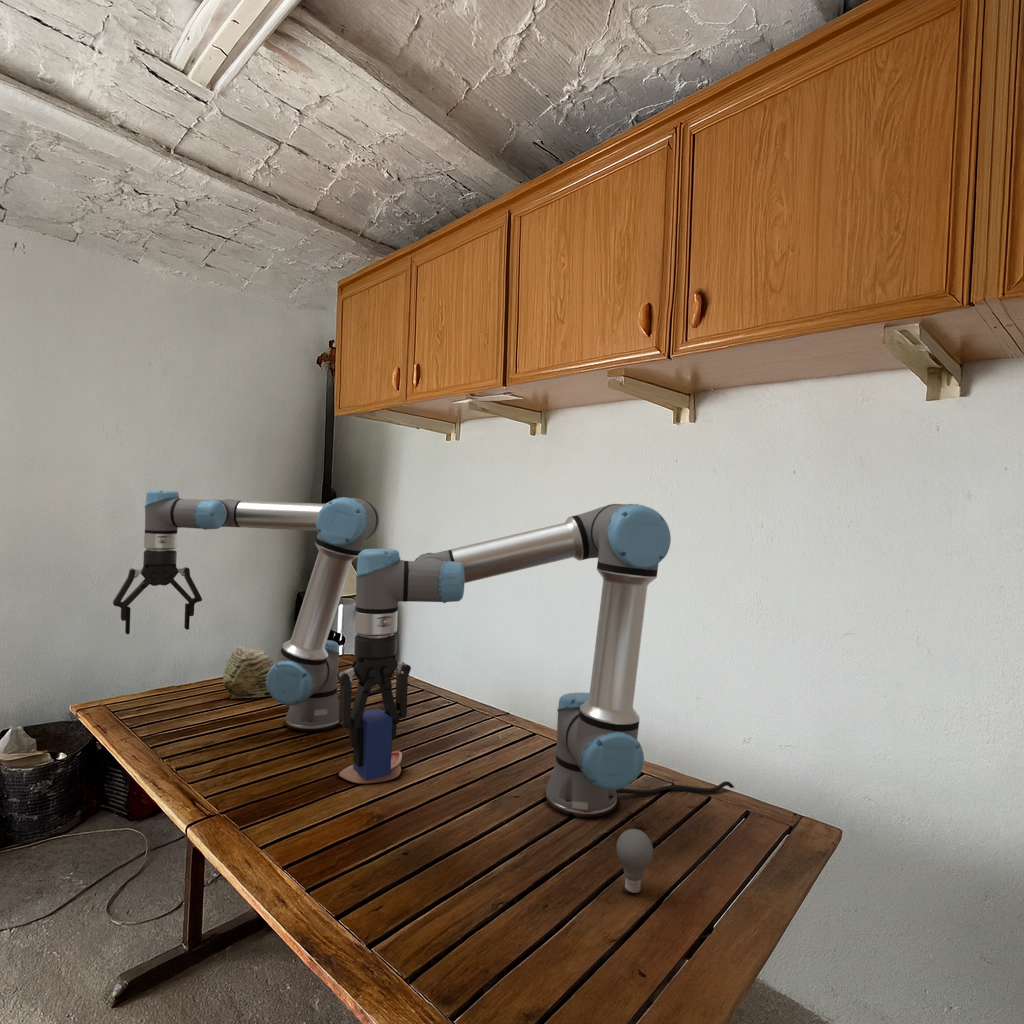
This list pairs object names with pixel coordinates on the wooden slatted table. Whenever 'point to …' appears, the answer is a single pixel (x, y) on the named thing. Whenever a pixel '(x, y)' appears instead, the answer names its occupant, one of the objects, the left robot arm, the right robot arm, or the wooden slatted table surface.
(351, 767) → the anatomical model
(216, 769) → the wooden slatted table surface
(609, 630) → the right robot arm
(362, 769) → the brick
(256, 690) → the fossil
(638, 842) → the light bulb
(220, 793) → the wooden slatted table surface
